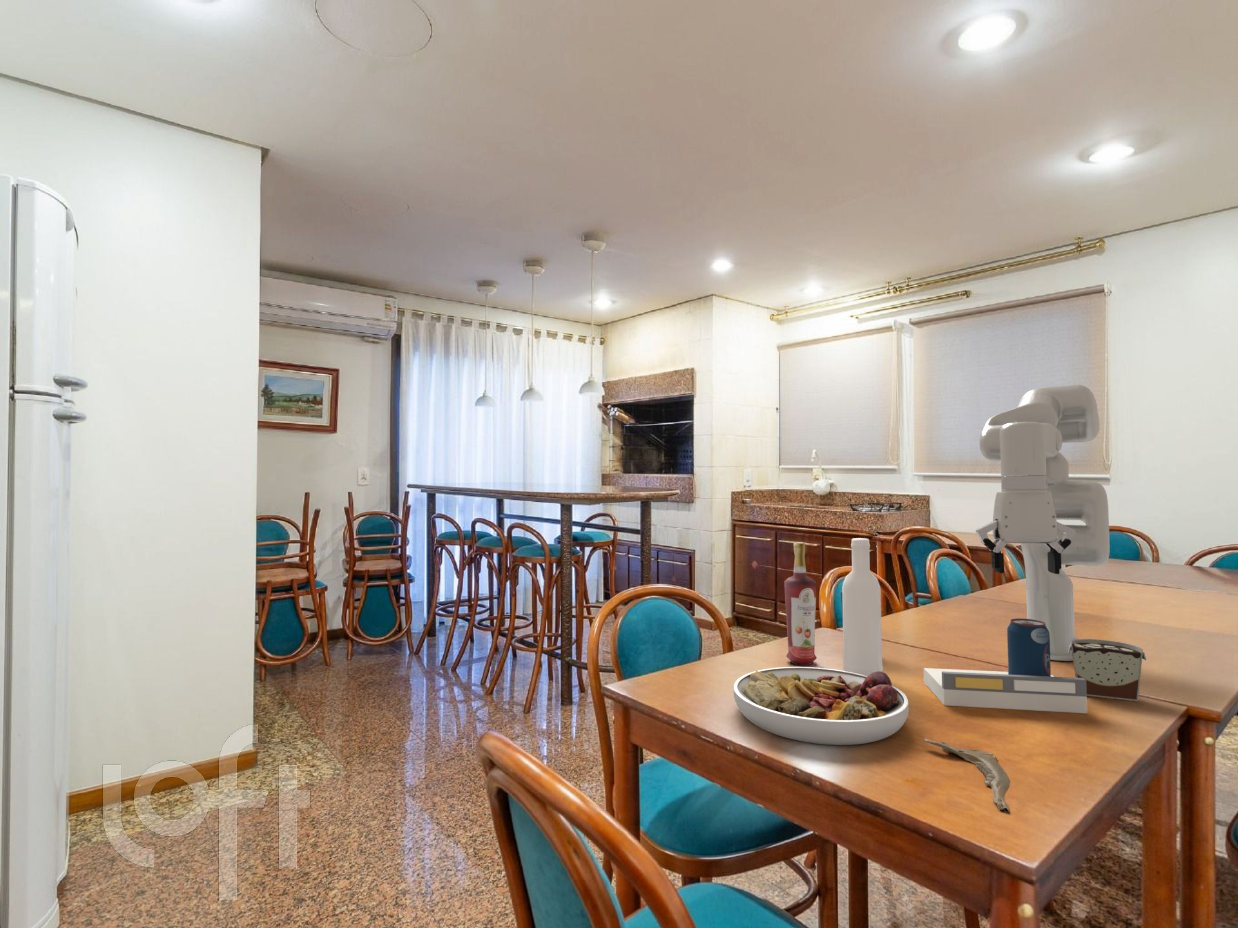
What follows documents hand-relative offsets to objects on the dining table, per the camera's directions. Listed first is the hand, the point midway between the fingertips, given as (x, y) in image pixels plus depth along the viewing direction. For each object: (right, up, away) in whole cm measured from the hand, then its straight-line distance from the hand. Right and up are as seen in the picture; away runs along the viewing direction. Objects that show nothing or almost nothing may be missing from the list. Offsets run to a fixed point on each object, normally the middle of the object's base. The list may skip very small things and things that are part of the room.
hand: (1026, 572), depth 123 cm
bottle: (-27, -25, +13) cm, 39 cm away
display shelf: (-5, -24, +1) cm, 25 cm away
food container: (+17, -25, +2) cm, 30 cm away
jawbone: (-30, -24, -32) cm, 50 cm away
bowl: (-44, -25, -9) cm, 51 cm away
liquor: (-37, -26, +25) cm, 51 cm away
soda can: (0, -22, -1) cm, 22 cm away
